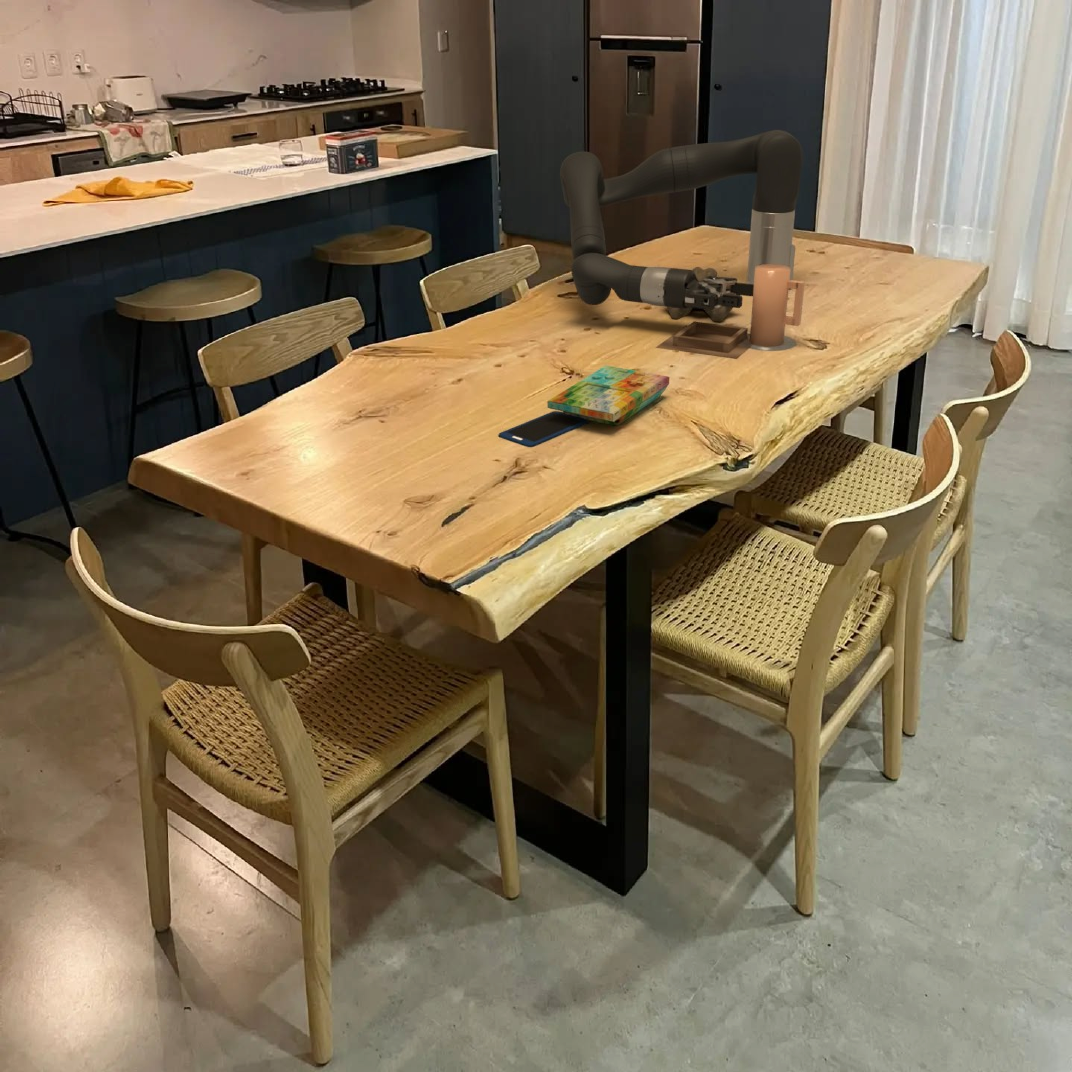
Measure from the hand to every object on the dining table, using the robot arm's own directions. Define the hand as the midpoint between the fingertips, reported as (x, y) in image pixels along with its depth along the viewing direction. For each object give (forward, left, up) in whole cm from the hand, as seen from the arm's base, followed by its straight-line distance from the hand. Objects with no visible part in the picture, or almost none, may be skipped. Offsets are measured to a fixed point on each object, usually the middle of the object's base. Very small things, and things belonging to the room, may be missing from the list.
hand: (748, 296), depth 203 cm
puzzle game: (+37, +25, -9) cm, 46 cm away
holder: (+7, -1, -9) cm, 11 cm away
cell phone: (+50, +30, -10) cm, 59 cm away
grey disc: (-3, +3, -9) cm, 10 cm away
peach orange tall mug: (-4, +4, -8) cm, 10 cm away
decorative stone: (0, -20, -9) cm, 22 cm away
